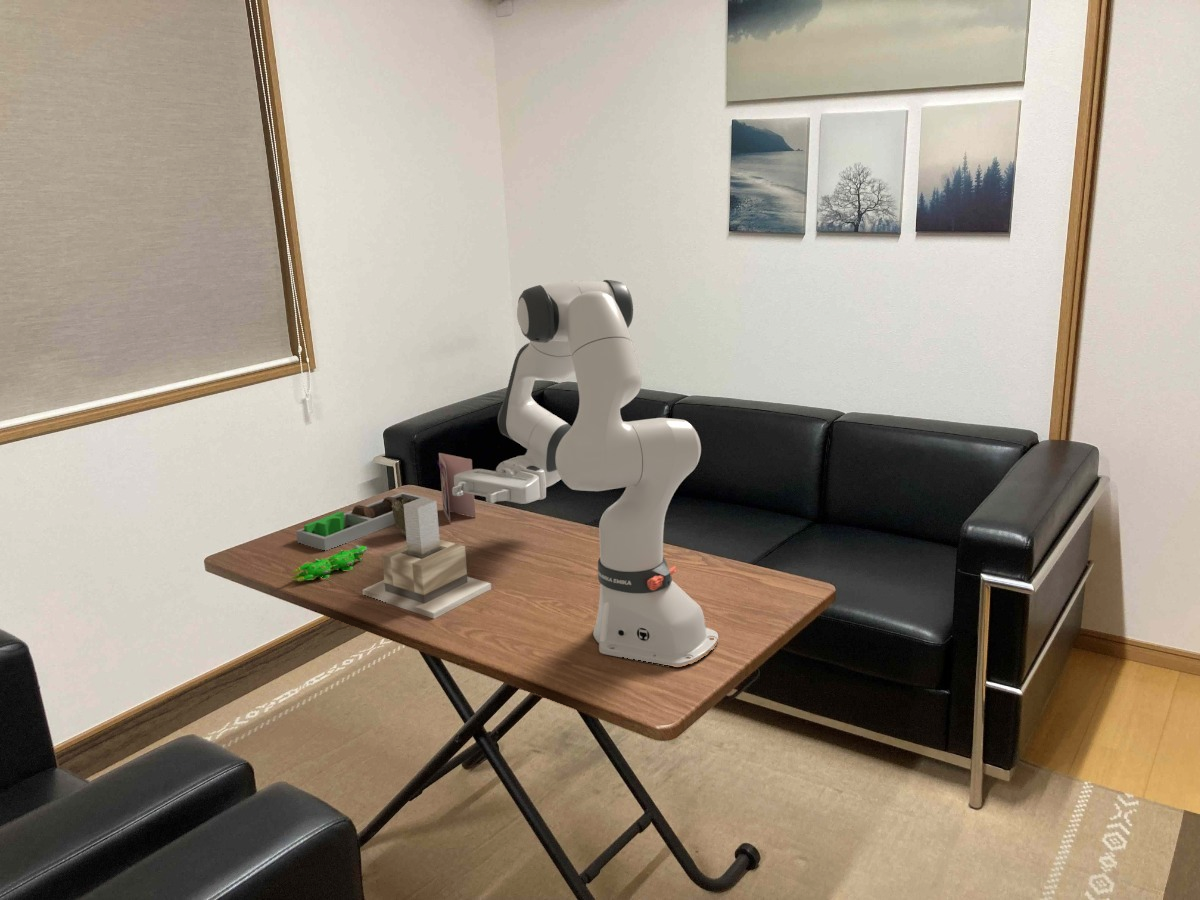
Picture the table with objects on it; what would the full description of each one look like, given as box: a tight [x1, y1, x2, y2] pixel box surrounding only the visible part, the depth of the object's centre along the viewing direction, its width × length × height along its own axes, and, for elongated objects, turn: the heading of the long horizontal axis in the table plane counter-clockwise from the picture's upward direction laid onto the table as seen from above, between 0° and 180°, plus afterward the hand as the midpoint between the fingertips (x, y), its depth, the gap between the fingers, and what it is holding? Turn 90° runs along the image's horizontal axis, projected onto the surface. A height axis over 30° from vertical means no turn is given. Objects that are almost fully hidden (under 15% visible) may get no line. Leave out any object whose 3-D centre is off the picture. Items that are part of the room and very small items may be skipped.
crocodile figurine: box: [291, 544, 368, 582], centre depth 200 cm, size 7×18×4 cm, turn 139°
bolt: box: [351, 496, 406, 519], centre depth 232 cm, size 6×5×15 cm
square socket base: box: [362, 539, 492, 620], centre depth 187 cm, size 20×16×9 cm
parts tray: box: [295, 491, 431, 552], centre depth 227 cm, size 10×33×3 cm, turn 144°
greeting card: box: [436, 452, 476, 523], centre depth 230 cm, size 11×7×15 cm, turn 18°
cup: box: [391, 498, 415, 537], centre depth 219 cm, size 8×7×8 cm
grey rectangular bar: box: [403, 496, 441, 559], centre depth 185 cm, size 4×5×16 cm
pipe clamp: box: [303, 511, 346, 537], centre depth 220 cm, size 11×4×5 cm, turn 148°
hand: (471, 495), depth 193 cm, fingers open, 8 cm apart
